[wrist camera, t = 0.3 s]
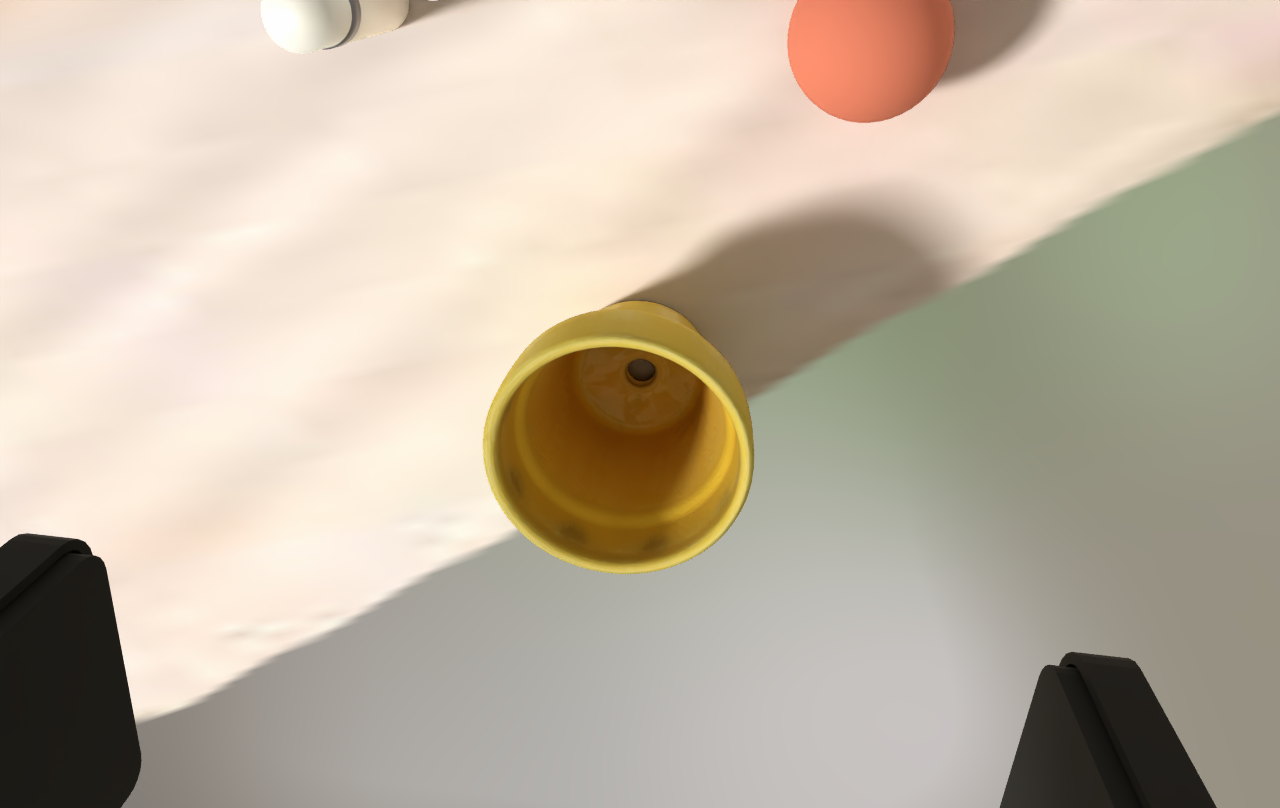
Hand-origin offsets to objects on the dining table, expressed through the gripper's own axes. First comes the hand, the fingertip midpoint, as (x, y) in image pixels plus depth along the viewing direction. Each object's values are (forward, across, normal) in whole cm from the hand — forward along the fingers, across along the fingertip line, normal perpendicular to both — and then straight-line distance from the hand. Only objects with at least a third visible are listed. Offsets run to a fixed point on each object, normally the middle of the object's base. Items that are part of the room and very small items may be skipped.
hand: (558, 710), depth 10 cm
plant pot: (+35, +2, +11) cm, 37 cm away
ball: (+32, -6, -4) cm, 33 cm away
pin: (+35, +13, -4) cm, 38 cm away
